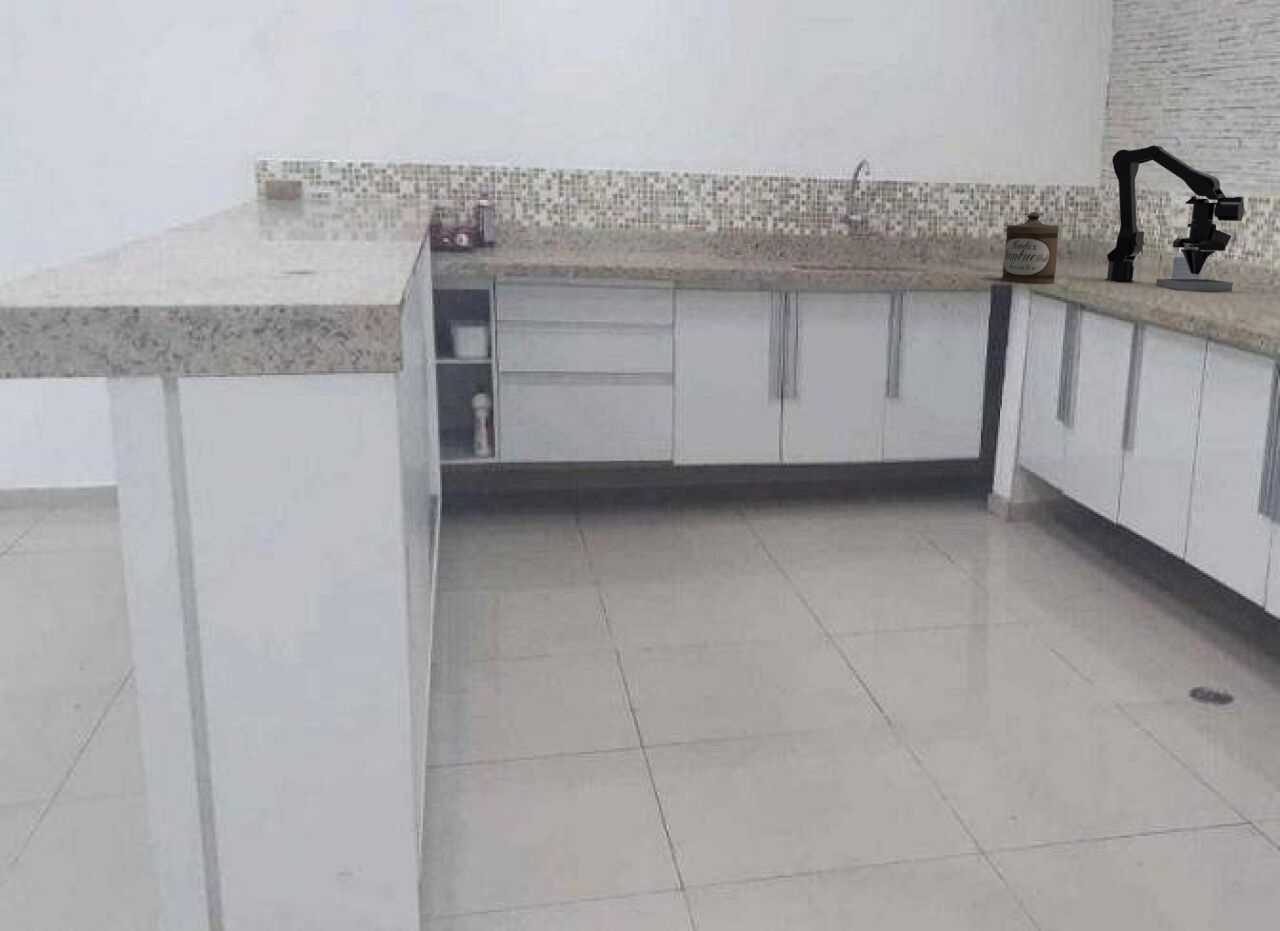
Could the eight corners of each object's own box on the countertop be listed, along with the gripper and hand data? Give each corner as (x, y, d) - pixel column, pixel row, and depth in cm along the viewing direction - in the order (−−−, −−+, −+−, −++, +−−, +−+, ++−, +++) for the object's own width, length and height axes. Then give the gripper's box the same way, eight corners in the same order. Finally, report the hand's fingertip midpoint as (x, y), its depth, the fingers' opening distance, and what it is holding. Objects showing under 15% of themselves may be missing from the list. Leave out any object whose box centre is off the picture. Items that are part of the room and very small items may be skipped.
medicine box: (1200, 284, 338) (1204, 256, 336) (1198, 285, 335) (1202, 257, 333) (1173, 283, 343) (1177, 255, 341) (1170, 284, 339) (1174, 256, 337)
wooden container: (994, 287, 322) (1000, 211, 316) (1011, 284, 333) (1017, 211, 328) (1044, 290, 313) (1052, 212, 308) (1060, 287, 325) (1067, 212, 319)
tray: (1178, 290, 315) (1179, 282, 315) (1155, 287, 328) (1156, 278, 327) (1231, 291, 316) (1232, 282, 315) (1207, 287, 329) (1208, 279, 328)
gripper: (1247, 221, 308) (1239, 276, 312) (1211, 219, 327) (1204, 272, 330) (1209, 221, 308) (1202, 276, 312) (1175, 219, 326) (1168, 271, 330)
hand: (1194, 274), depth 321 cm, fingers closed
